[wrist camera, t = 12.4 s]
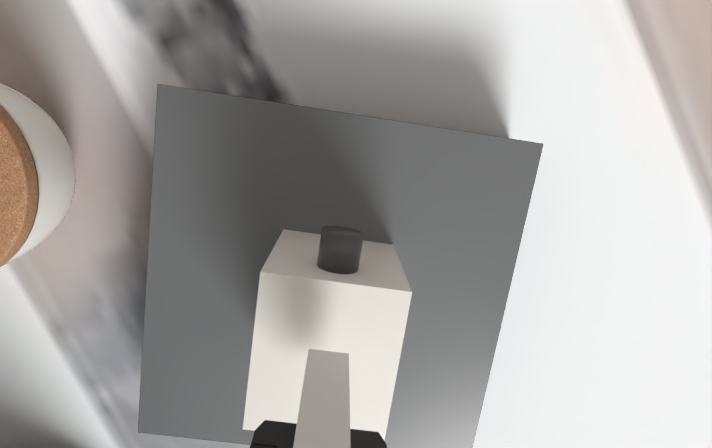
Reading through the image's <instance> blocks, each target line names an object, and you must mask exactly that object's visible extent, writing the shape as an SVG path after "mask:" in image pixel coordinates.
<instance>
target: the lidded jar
mask: <svg viewBox="0 0 712 448" xmlns="http://www.w3.org/2000/svg"><path fill="white" fill-rule="evenodd" d="M75 184H76V171H75V164H74V159H73V155H72V152H71V149H70V147H69V144H68V142H67V140H66V138H65V136H64V134H63V133H62V131H61V130H60V128H59V127H58V125H57V124H56V123H55V121H54V120H53V119H52V118H51V117H50V116H49V115H48V114H47V113H46V112H45V111H44V110H43V109H42V108H40V107H39V106H38V105H37V104H35V103H34V102H33V101H31V100H30V99H29V98H28V97H26V96H25V95H23V94H21V93H19V92H18V91H16V90H14V89H12V88H10V87H8V86H6V85H3V84H1V83H0V267H1V266H3V265H5V264H7V263H9V262H11V261H13V260H15V259H17V258H19V257H21V256H22V255H24V254H25V253H27V252H28V251H30V250H31V249H33V248H34V247H36V246H38V245H39V244H40V243H41V242H42V241H43V240H45V239H46V238H47V237H48V236H49V235H50V234H51V233H52V232H53V231H54V230H55V229H56V228H57V227H58V225H59V224H60V223H61V221H62V220H63V219H64V217H65V215H66V213H67V211H68V209H69V207H70V205H71V203H72V199H73V196H74V193H75Z"/></svg>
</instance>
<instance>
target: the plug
mask: <svg viewBox="0 0 712 448" xmlns="http://www.w3.org/2000/svg"><path fill="white" fill-rule="evenodd" d="M363 237H364V234H363V233H362V232H361V231H359V230H356V229H353V228H348V227H342V226H325V227H322V230H321V234H314V233H306V232H299V231H292V230H285V229H283V231H282V233H281V235H280V237H279V238H278V240H277V242H276V244H275V246H274V248H273V249H272V251H271V253H270V255H269V257H268V259H267V260H266V262H265V264H264V266H263V268H262V269H261V271H260V278H259V287H258V296H257V305H256V314H255V323H254V332H253V341H252V350H251V359H250V368H249V377H248V386H247V395H246V404H245V413H244V422H243V430H252V431H255V430H256V429H257V428H258V427H259V426H260V424H261V423H262V422H263V421H264V420H270V421H278V422H287V423H295V424H297V419H298V413H299V407H300V400H301V394H302V388H303V381H304V375H305V369H306V362H307V356H308V350H309V349H316V350H324V351H332V352H340V353H348V354H349V386H350V429H357V430H365V431H374V432H379V434H380V435H381V437H382V438H383V440H384V441H385V435H386V430H387V425H388V419H389V414H390V409H391V403H392V398H393V393H394V387H395V382H396V376H397V371H398V366H399V360H400V355H401V350H402V344H403V339H404V334H405V328H406V323H407V318H408V312H409V307H410V301H411V296H412V290H411V288H410V285H409V283H408V280H407V278H406V275H405V273H404V270H403V268H402V265H401V263H400V260H399V258H398V255H397V253H396V251H395V248H394V246H393V244H385V243H378V242H371V241H364V240H363Z"/></svg>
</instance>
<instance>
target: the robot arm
mask: <svg viewBox="0 0 712 448" xmlns="http://www.w3.org/2000/svg"><path fill="white" fill-rule="evenodd" d="M250 448H387V444H386V443H385V441H384V440H383V438H382V437H381V435H380V434H379V432H374V431H365V430H357V429H350V386H349V354H348V353H340V352H332V351H324V350H316V349H309V350H308V356H307V362H306V369H305V375H304V381H303V388H302V394H301V400H300V407H299V413H298V419H297V424H295V423H287V422H278V421H270V420H264V421H263V422H262V423H261V424H260V426H259V427H258V428H257V429H256V430H255V432H254V435H253V439H252V442H251V446H250Z"/></svg>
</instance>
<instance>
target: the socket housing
mask: <svg viewBox="0 0 712 448" xmlns="http://www.w3.org/2000/svg"><path fill="white" fill-rule="evenodd" d="M542 148H543V144H541V143H535V142H528V141H522V140H516V139H509V138H503V137H496V136H490V135H483V134H477V133H470V132H464V131H458V130H451V129H445V128H438V127H432V126H425V125H419V124H412V123H406V122H400V121H393V120H387V119H380V118H374V117H367V116H361V115H354V114H348V113H342V112H335V111H329V110H322V109H316V108H309V107H303V106H296V105H290V104H284V103H277V102H271V101H264V100H258V99H251V98H245V97H238V96H232V95H226V94H219V93H213V92H206V91H200V90H193V89H187V88H181V87H174V86H168V85H161V84H158V86H157V104H156V121H155V139H154V156H153V174H152V191H151V209H150V226H149V244H148V261H147V279H146V296H145V314H144V331H143V349H142V366H141V384H140V401H139V419H138V432H139V433H148V434H157V435H166V436H175V437H184V438H193V439H202V440H210V441H219V442H228V443H237V444H246V445H251V442H252V439H253V435H254V432H255V431H252V430H243V422H244V413H245V404H246V395H247V386H248V377H249V368H250V359H251V350H252V341H253V332H254V323H255V314H256V305H257V296H258V287H259V278H260V271H261V269H262V268H263V266H264V264H265V262H266V260H267V259H268V257H269V255H270V253H271V251H272V249H273V248H274V246H275V244H276V242H277V240H278V238H279V237H280V235H281V233H282V231H283V229H285V230H292V231H299V232H306V233H314V234H321V230H322V227H325V226H342V227H348V228H353V229H356V230H359V231H361V232H362V233H363V234H364V237H363V240H364V241H371V242H378V243H385V244H393V246H394V248H395V251H396V253H397V255H398V258H399V260H400V263H401V265H402V268H403V270H404V273H405V275H406V278H407V280H408V283H409V285H410V288H411V290H412V296H411V301H410V307H409V312H408V318H407V323H406V328H405V334H404V339H403V344H402V350H401V355H400V360H399V366H398V371H397V376H396V382H395V387H394V393H393V398H392V403H391V409H390V414H389V419H388V425H387V430H386V435H385V443H386V444H387V448H472V447H473V443H474V439H475V435H476V430H477V426H478V422H479V417H480V413H481V409H482V405H483V400H484V396H485V392H486V387H487V383H488V379H489V375H490V370H491V366H492V362H493V357H494V353H495V349H496V345H497V340H498V336H499V332H500V328H501V323H502V319H503V315H504V310H505V306H506V302H507V298H508V293H509V289H510V285H511V280H512V276H513V272H514V268H515V263H516V259H517V255H518V250H519V246H520V242H521V238H522V233H523V229H524V225H525V220H526V216H527V212H528V208H529V203H530V199H531V195H532V190H533V186H534V182H535V178H536V173H537V169H538V165H539V160H540V156H541V152H542Z"/></svg>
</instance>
